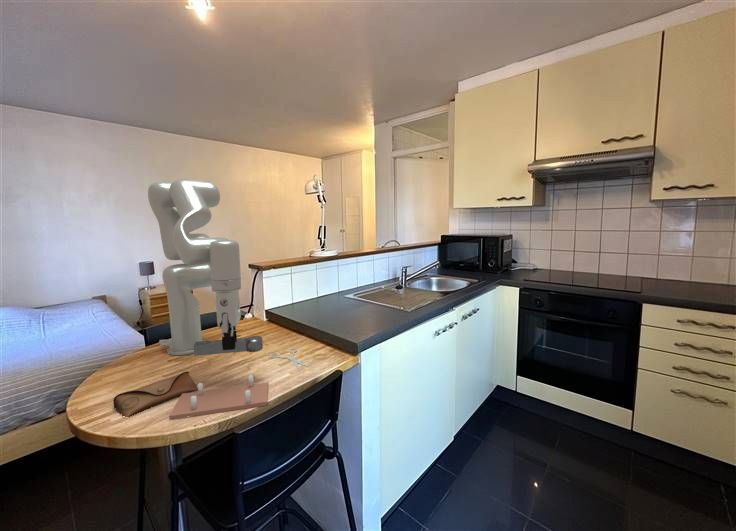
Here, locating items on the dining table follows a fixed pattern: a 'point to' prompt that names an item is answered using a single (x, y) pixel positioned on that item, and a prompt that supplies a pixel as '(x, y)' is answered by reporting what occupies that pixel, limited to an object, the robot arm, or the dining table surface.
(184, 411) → the peg rack
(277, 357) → the scissors
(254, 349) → the grey spoon
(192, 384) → the sunglasses case
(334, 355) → the dining table surface
